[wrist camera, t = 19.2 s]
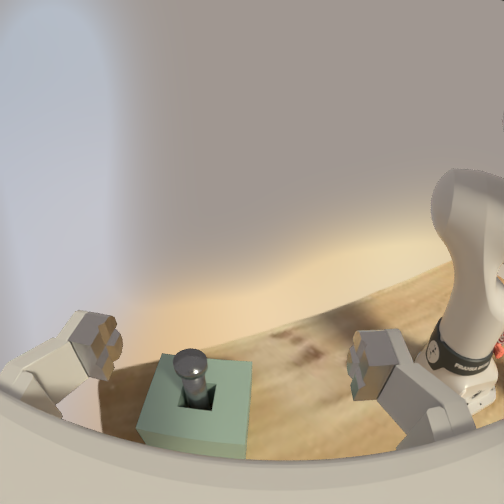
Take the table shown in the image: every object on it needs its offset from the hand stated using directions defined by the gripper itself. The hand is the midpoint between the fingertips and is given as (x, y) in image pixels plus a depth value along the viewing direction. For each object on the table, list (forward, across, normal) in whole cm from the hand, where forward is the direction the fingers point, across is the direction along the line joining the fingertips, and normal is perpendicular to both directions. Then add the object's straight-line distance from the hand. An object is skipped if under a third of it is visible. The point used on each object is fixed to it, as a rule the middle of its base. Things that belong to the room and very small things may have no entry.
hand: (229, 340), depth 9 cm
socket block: (+17, +8, +36) cm, 41 cm away
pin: (+17, +8, +36) cm, 41 cm away
